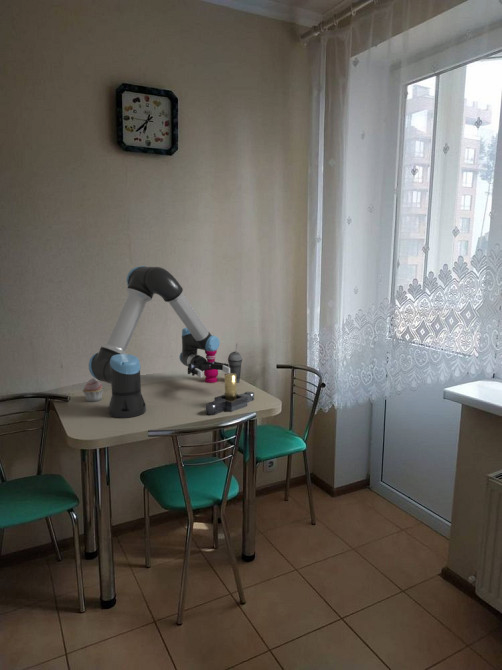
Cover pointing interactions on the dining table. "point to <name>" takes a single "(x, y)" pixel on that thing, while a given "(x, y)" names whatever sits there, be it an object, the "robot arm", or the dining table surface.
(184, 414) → the dining table surface
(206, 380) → the pepper mill
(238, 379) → the beverage cup
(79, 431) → the dining table surface
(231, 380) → the gold tall cylinder
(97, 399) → the cupcake
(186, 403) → the dining table surface
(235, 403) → the chain end
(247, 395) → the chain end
